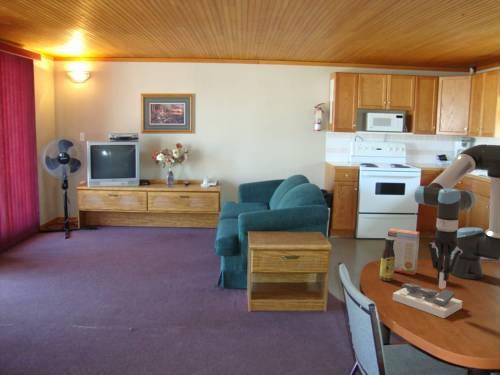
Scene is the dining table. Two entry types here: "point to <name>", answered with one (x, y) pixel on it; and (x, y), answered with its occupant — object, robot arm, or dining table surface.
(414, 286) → the switch
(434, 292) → the switch middle
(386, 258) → the sauce bottle
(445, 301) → the switch
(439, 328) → the dining table surface
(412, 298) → the switch panel
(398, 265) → the cracker box
